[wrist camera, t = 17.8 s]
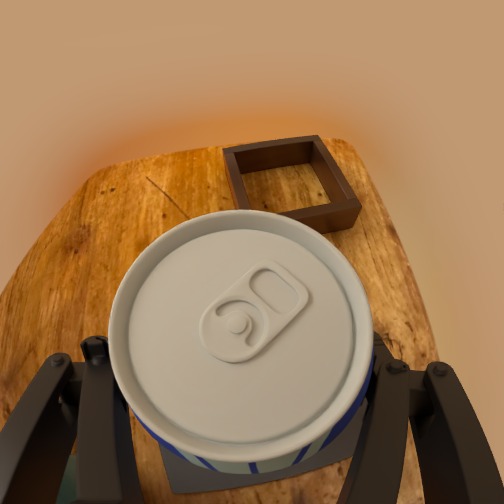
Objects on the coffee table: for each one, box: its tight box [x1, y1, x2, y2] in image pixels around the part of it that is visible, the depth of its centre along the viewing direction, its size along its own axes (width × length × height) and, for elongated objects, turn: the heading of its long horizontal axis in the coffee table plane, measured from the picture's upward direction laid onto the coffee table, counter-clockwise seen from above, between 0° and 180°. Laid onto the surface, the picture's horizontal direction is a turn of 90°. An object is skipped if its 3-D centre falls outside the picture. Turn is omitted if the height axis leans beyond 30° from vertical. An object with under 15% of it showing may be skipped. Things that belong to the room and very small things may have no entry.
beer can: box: [108, 210, 374, 474], centre depth 13 cm, size 8×8×16 cm
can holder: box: [222, 135, 362, 234], centre depth 33 cm, size 13×13×4 cm
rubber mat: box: [158, 397, 368, 494], centre depth 24 cm, size 20×20×1 cm
